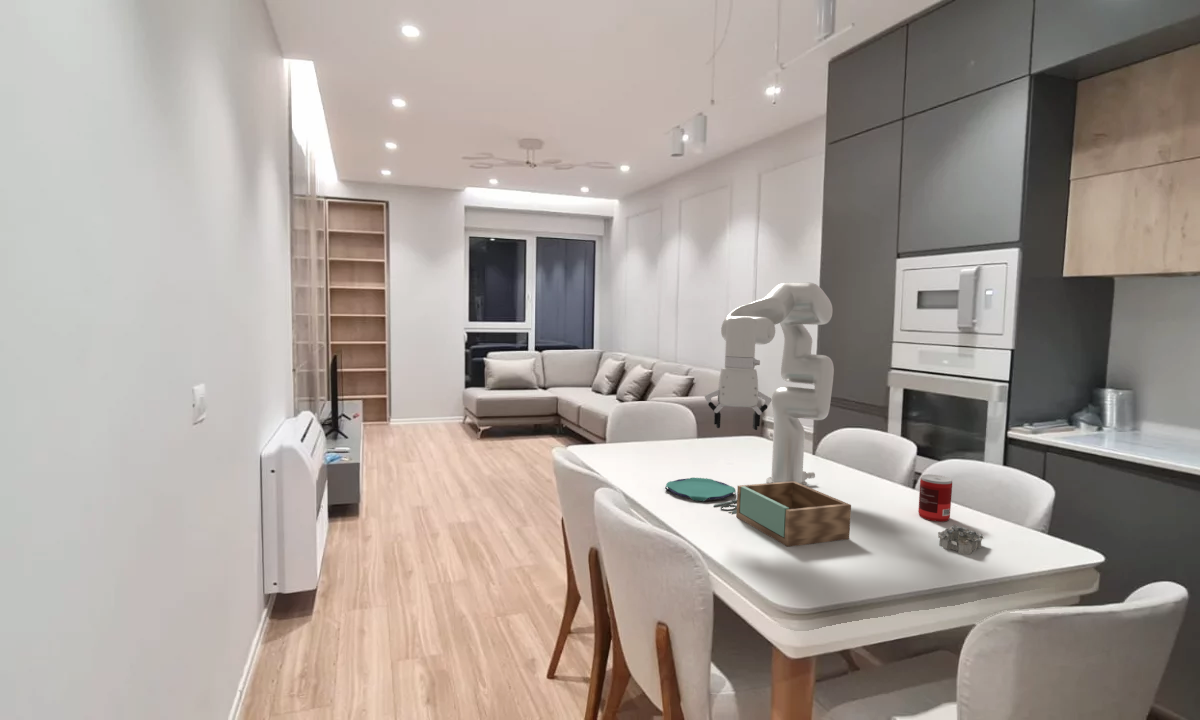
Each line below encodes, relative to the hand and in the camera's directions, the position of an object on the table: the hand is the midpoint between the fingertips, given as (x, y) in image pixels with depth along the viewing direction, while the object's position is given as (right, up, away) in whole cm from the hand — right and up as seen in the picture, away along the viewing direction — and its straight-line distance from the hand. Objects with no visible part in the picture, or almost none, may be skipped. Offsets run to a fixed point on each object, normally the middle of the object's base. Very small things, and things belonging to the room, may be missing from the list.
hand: (736, 428), depth 163 cm
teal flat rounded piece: (-3, -23, +20) cm, 31 cm away
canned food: (+55, -25, +6) cm, 61 cm away
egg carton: (+50, -27, -15) cm, 59 cm away
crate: (+13, -25, -5) cm, 28 cm away
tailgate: (+4, -23, -9) cm, 25 cm away
